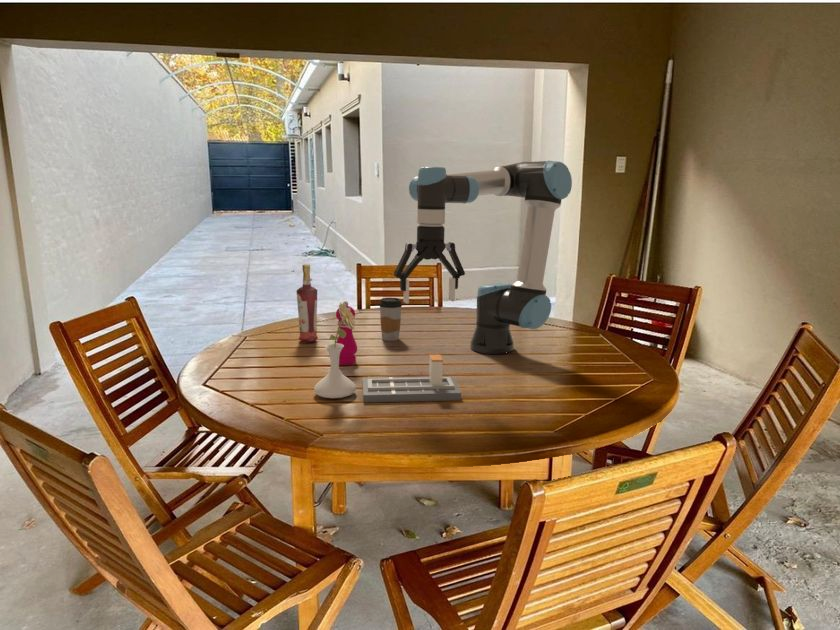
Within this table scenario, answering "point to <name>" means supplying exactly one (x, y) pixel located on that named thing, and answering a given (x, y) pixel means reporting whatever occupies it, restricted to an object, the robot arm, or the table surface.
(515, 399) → the table surface
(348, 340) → the pepper mill
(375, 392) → the panel
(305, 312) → the liquor
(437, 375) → the fader
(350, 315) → the flower in vase
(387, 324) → the coffee cup
